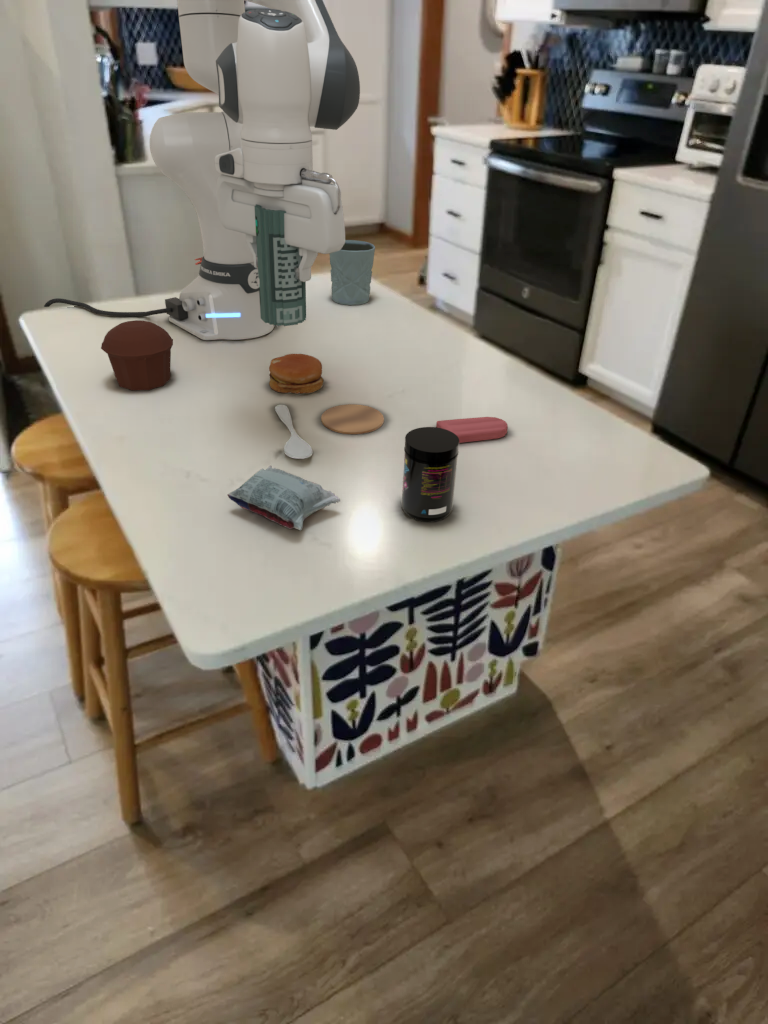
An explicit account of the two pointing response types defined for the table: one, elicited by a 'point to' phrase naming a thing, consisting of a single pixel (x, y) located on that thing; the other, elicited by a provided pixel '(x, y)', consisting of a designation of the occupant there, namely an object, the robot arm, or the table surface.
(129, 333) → the muffin
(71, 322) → the table surface
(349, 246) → the drinking glass
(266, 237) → the can
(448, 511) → the supplement container
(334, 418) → the cork coaster
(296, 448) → the spoon
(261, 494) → the packaged food
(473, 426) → the popsicle
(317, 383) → the burger
